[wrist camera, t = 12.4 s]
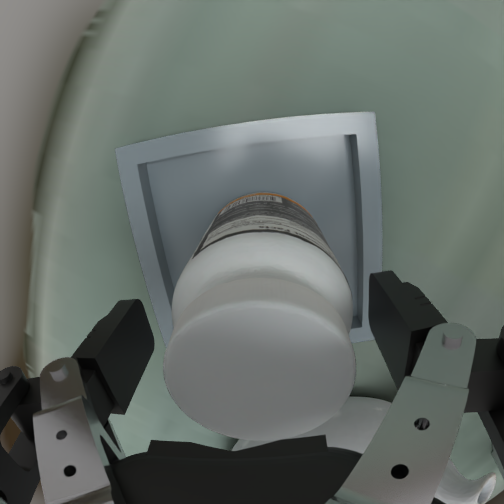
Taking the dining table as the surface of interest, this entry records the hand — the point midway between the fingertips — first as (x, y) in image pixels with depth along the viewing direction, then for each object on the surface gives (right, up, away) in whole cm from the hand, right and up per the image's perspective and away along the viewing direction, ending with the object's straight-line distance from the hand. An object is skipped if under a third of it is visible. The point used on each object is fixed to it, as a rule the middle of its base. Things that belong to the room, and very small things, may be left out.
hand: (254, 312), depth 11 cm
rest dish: (0, +3, +6) cm, 7 cm away
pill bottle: (+1, +2, +6) cm, 6 cm away
